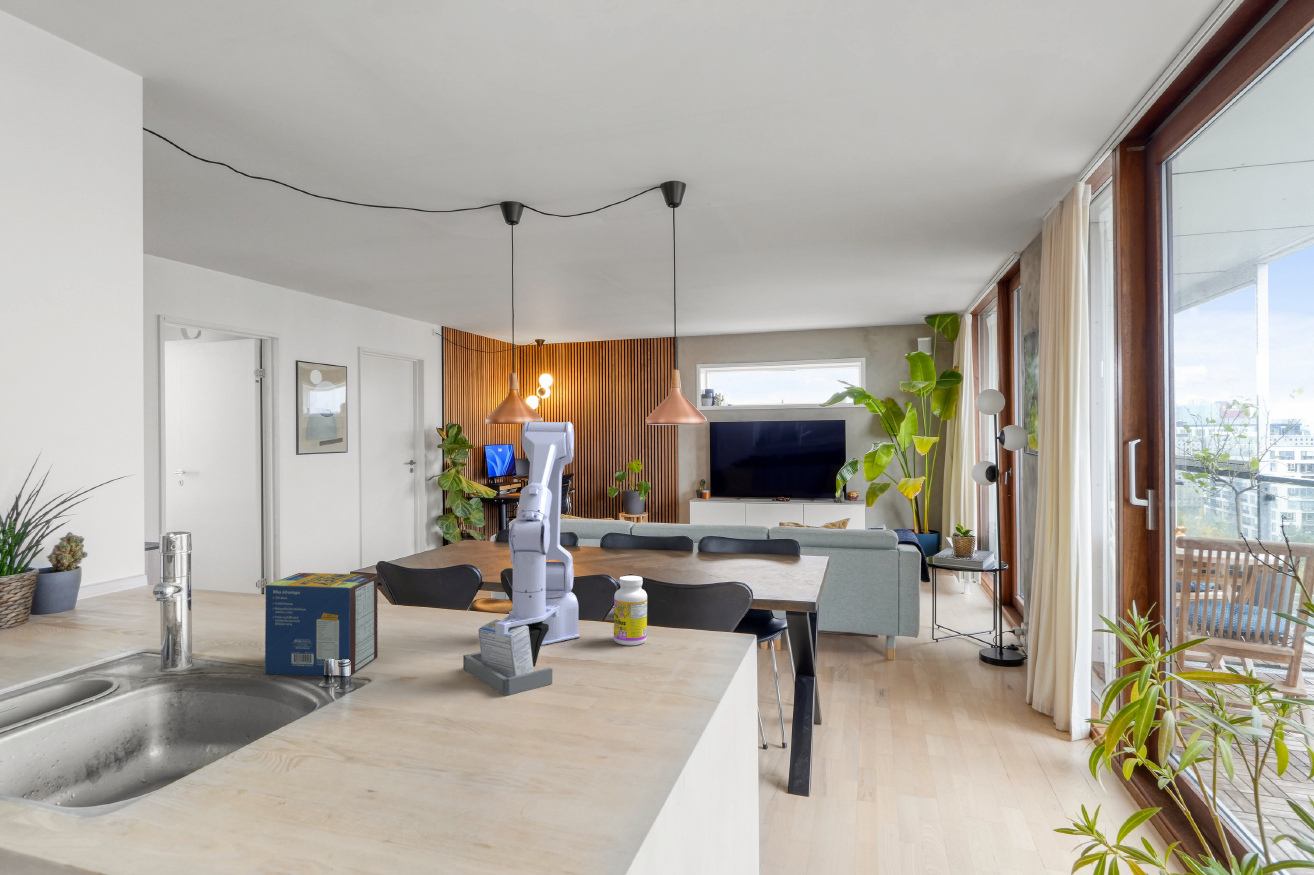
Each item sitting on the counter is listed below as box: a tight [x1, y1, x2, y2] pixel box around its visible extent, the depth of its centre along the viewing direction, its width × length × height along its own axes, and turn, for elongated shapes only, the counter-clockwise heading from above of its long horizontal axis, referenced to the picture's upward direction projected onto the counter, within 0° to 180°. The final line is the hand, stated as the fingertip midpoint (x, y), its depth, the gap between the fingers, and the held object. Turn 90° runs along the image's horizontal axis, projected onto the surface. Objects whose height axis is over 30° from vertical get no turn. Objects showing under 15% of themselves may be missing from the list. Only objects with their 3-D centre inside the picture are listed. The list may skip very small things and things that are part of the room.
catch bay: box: [462, 651, 553, 697], centre depth 119 cm, size 9×16×2 cm, turn 40°
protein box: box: [264, 572, 379, 677], centre depth 123 cm, size 10×15×16 cm
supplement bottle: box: [613, 575, 648, 647], centre depth 139 cm, size 7×7×13 cm
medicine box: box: [478, 619, 535, 678], centre depth 118 cm, size 8×4×9 cm, turn 58°
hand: (528, 666), depth 121 cm, fingers closed
